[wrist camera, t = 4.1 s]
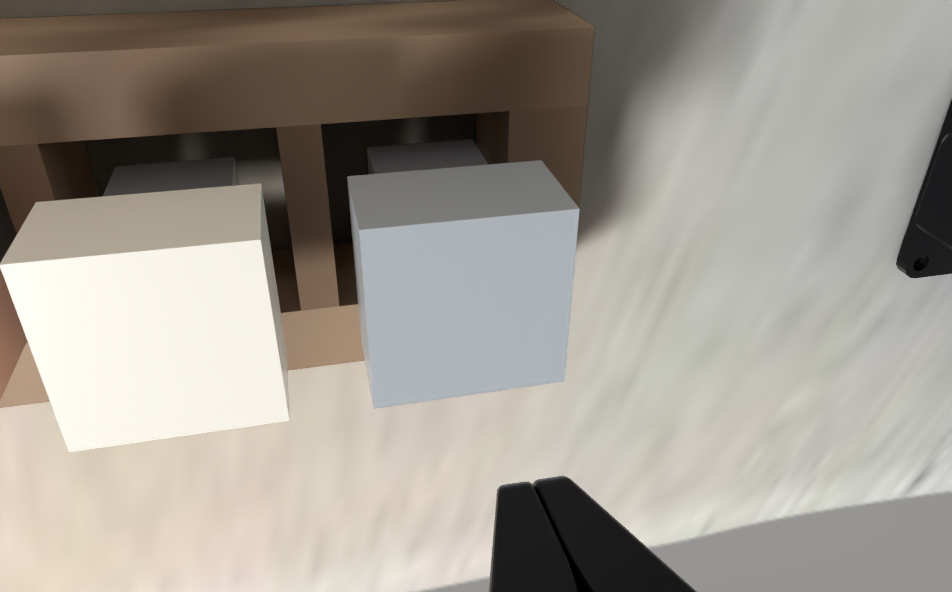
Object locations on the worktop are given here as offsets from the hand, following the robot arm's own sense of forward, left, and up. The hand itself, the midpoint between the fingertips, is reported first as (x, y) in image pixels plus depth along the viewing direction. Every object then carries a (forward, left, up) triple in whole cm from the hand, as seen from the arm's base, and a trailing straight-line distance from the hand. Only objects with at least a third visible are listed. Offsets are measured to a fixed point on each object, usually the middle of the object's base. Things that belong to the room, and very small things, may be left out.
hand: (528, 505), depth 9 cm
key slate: (0, 0, -9) cm, 9 cm away
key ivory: (+5, 0, -9) cm, 10 cm away
